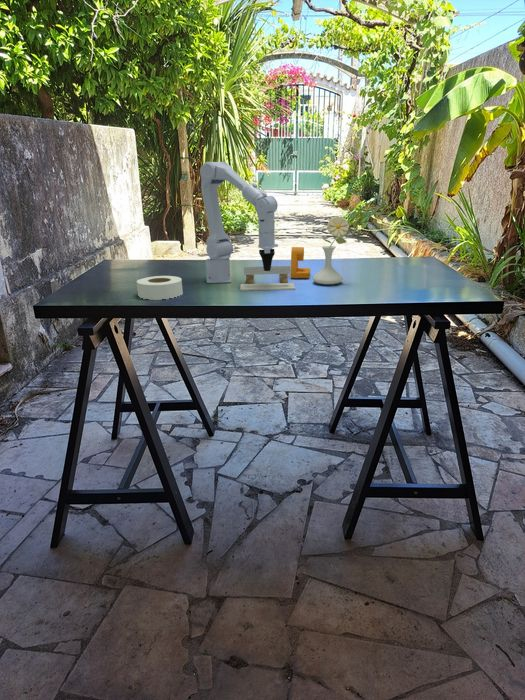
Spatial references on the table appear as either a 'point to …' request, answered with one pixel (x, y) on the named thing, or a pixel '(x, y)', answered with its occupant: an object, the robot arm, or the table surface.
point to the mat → (267, 286)
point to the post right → (283, 278)
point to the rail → (272, 271)
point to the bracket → (296, 256)
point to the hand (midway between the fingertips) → (267, 270)
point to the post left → (249, 279)
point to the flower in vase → (337, 229)
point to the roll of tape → (159, 287)
